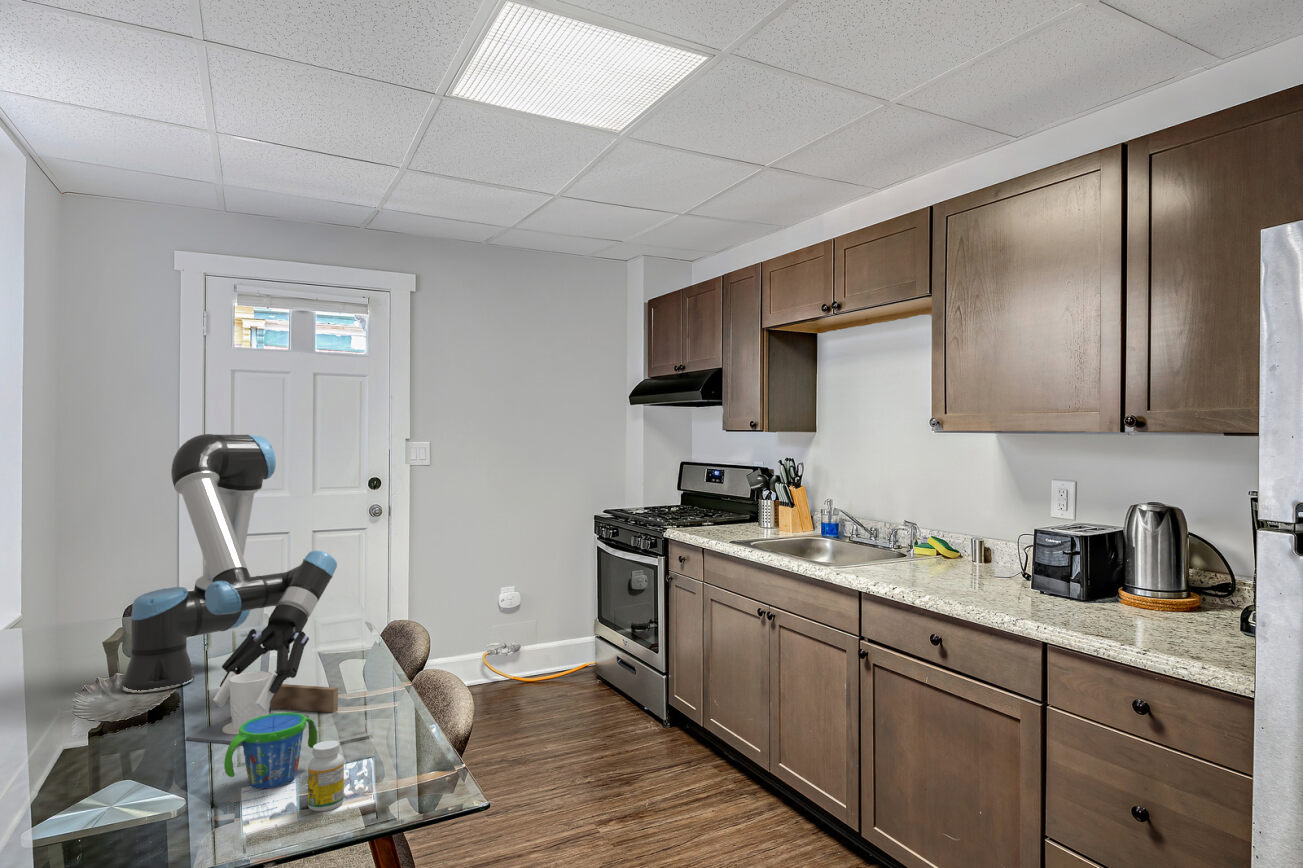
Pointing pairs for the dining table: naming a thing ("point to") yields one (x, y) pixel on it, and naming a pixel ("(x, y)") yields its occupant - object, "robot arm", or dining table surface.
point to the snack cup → (271, 748)
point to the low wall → (306, 698)
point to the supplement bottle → (325, 777)
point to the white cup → (247, 696)
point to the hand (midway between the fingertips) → (238, 705)
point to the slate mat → (218, 733)
